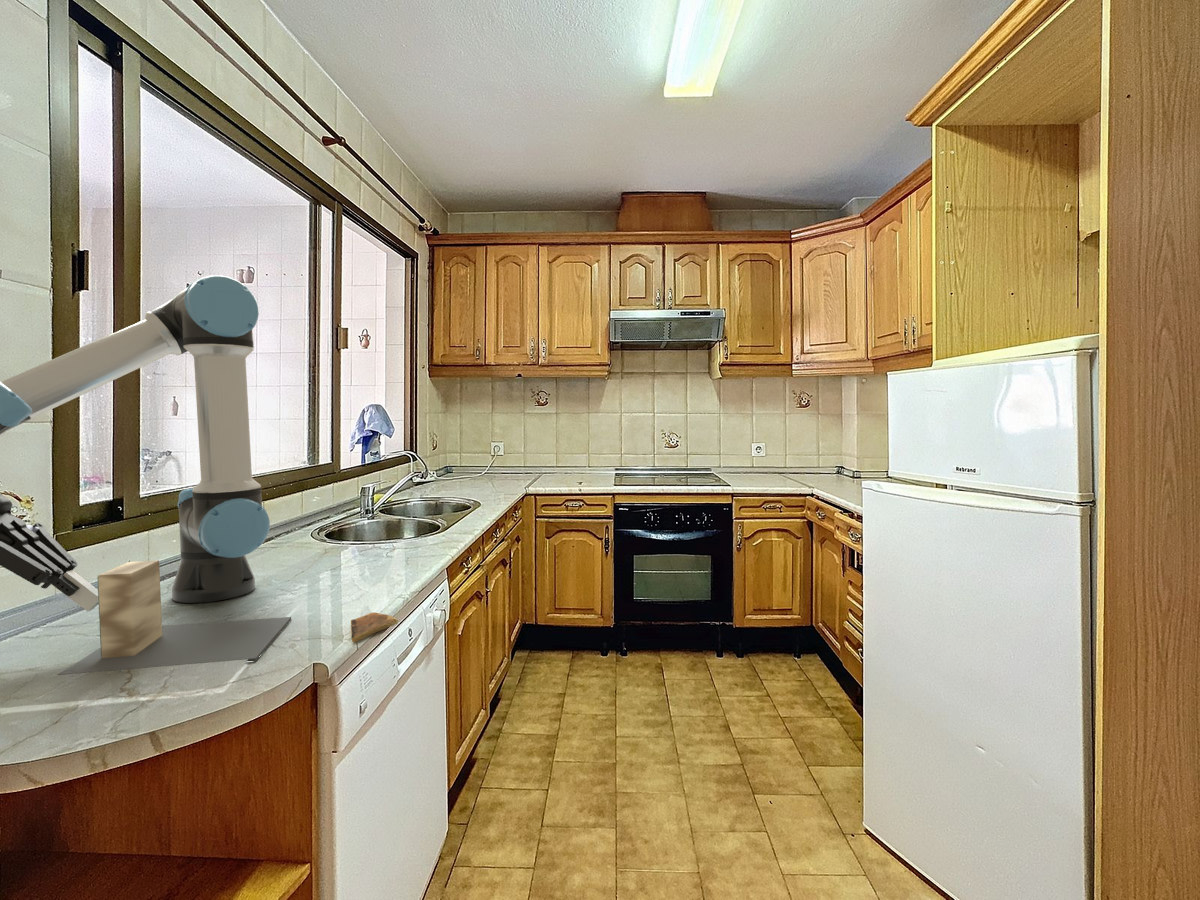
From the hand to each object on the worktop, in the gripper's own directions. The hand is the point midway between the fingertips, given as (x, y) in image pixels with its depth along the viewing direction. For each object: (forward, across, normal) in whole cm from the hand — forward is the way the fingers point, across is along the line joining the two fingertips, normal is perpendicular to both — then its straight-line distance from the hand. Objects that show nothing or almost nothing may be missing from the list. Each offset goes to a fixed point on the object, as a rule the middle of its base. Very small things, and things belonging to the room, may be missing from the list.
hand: (97, 603), depth 96 cm
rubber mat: (+15, 0, +3) cm, 15 cm away
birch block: (+9, 0, -2) cm, 9 cm away
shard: (+36, -2, +23) cm, 43 cm away
